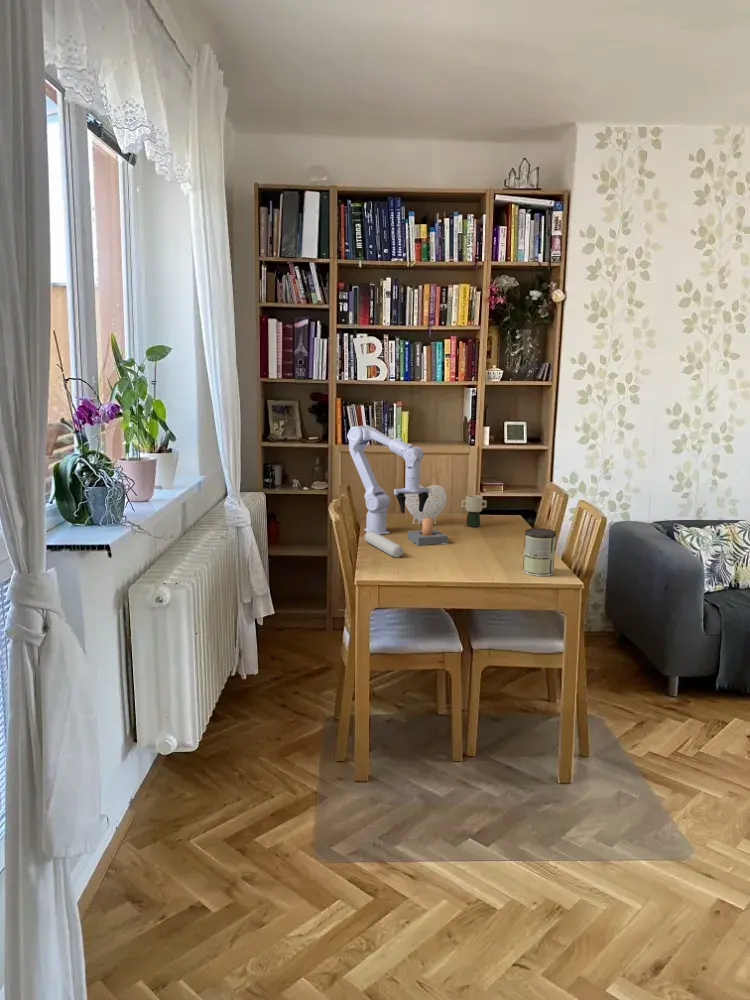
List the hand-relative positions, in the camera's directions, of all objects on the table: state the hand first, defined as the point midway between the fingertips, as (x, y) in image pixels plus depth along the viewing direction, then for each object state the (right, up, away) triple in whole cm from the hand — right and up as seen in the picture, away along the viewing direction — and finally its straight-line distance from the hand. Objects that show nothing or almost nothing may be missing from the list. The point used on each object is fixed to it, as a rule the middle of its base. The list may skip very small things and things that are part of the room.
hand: (411, 511), depth 302 cm
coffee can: (+40, -20, -45) cm, 63 cm away
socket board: (+6, -11, -3) cm, 13 cm away
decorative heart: (+7, -6, +27) cm, 29 cm away
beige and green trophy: (+27, -7, +26) cm, 38 cm away
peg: (+6, -11, -3) cm, 13 cm away
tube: (-11, -14, -19) cm, 26 cm away
